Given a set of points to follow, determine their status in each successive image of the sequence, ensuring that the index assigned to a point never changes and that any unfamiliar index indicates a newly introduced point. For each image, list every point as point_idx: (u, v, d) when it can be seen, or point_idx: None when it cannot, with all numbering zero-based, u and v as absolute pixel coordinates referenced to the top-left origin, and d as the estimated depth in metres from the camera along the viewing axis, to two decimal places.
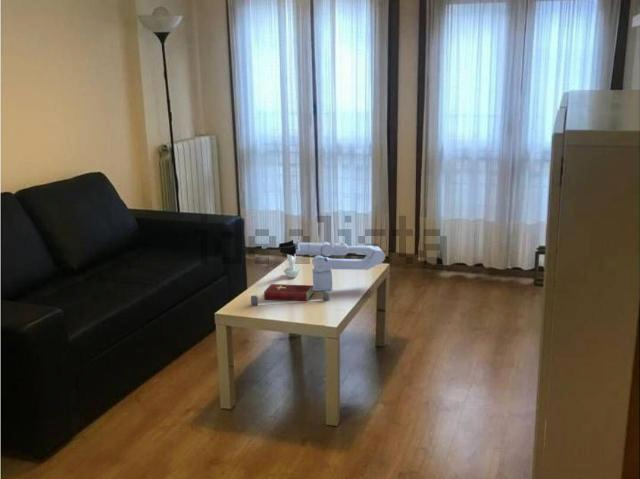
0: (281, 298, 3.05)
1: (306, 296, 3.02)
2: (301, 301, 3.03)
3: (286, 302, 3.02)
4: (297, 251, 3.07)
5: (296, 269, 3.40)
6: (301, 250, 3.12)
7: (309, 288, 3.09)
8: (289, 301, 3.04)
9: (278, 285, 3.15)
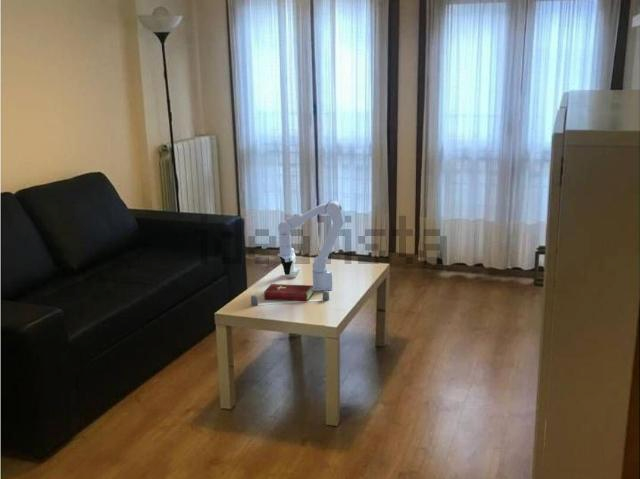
0: (281, 298, 3.05)
1: (306, 296, 3.02)
2: (301, 301, 3.03)
3: (286, 302, 3.02)
4: (286, 260, 3.11)
5: (296, 269, 3.40)
6: (286, 253, 3.15)
7: (309, 288, 3.09)
8: (289, 301, 3.04)
9: (278, 285, 3.15)
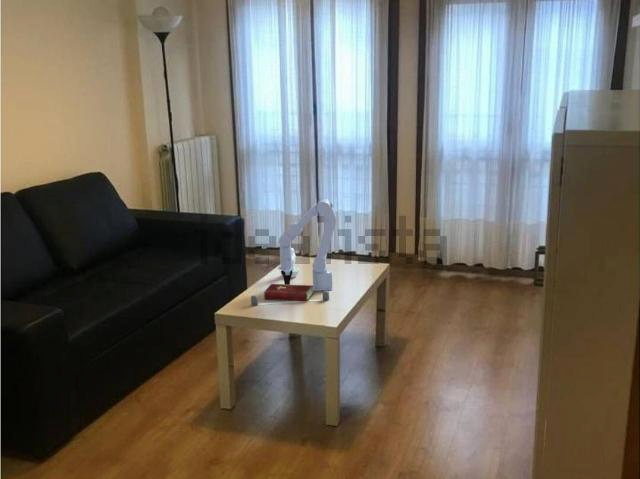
0: (281, 298, 3.05)
1: (306, 296, 3.02)
2: (301, 301, 3.03)
3: (286, 302, 3.02)
4: (286, 273, 3.12)
5: (296, 269, 3.40)
6: (287, 266, 3.16)
7: (309, 288, 3.09)
8: (289, 301, 3.04)
9: (278, 285, 3.15)
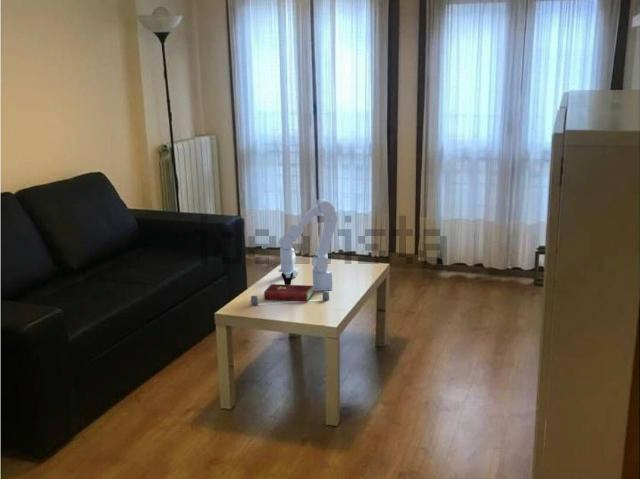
0: (281, 298, 3.05)
1: (306, 296, 3.02)
2: (301, 301, 3.03)
3: (286, 302, 3.02)
4: (287, 276, 3.08)
5: (296, 269, 3.40)
6: (287, 268, 3.12)
7: (309, 288, 3.08)
8: (289, 301, 3.04)
9: (278, 285, 3.14)
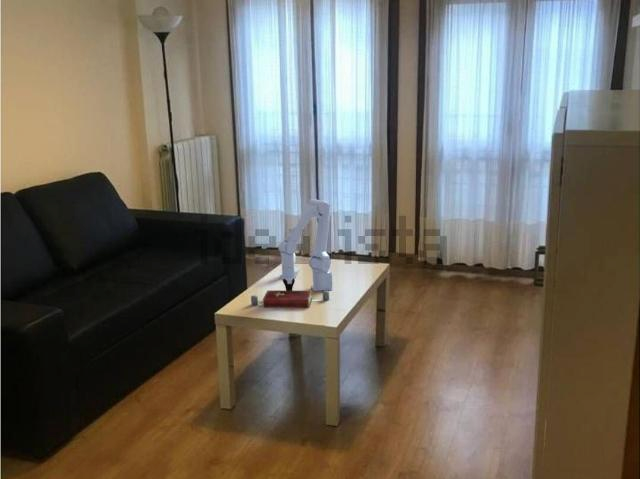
0: (281, 305, 2.96)
1: (307, 302, 2.94)
2: None
3: None
4: (288, 282, 3.00)
5: (296, 269, 3.40)
6: (289, 274, 3.03)
7: (308, 293, 3.01)
8: None
9: (275, 291, 3.05)
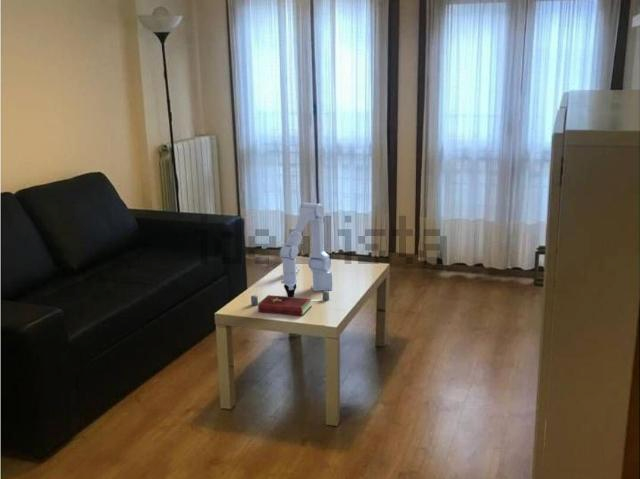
0: (275, 311, 2.88)
1: (301, 310, 2.84)
2: None
3: None
4: (290, 288, 2.91)
5: (296, 269, 3.40)
6: (290, 280, 2.95)
7: (306, 301, 2.91)
8: None
9: (274, 297, 2.98)
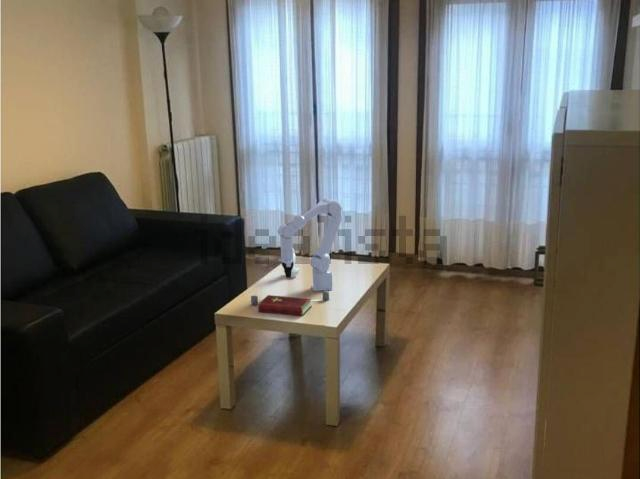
0: (275, 311, 2.88)
1: (301, 310, 2.84)
2: None
3: None
4: (287, 265, 3.03)
5: (296, 269, 3.40)
6: (288, 258, 3.07)
7: (306, 301, 2.91)
8: None
9: (274, 297, 2.98)
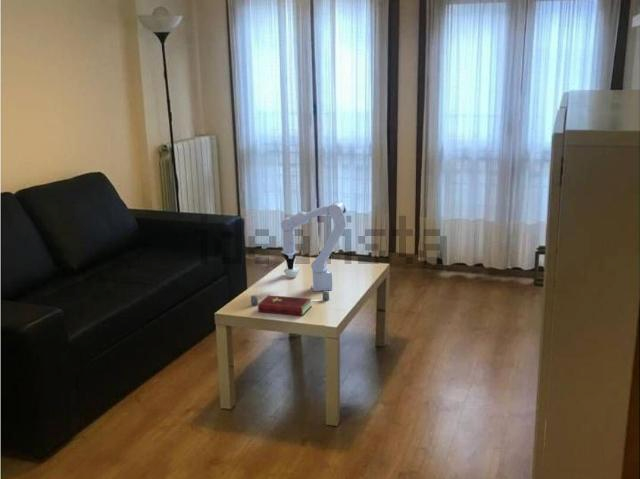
0: (275, 311, 2.88)
1: (301, 310, 2.84)
2: None
3: None
4: (290, 257, 3.13)
5: (296, 269, 3.40)
6: (290, 250, 3.17)
7: (306, 301, 2.91)
8: None
9: (274, 297, 2.98)
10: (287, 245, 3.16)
